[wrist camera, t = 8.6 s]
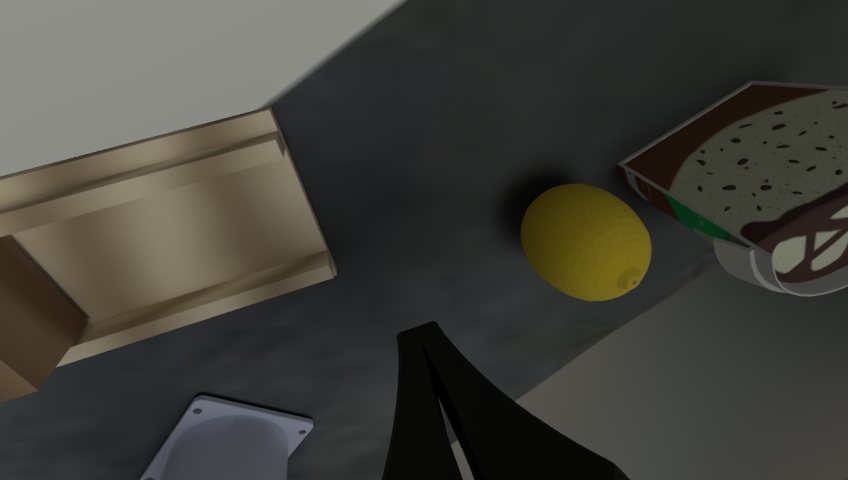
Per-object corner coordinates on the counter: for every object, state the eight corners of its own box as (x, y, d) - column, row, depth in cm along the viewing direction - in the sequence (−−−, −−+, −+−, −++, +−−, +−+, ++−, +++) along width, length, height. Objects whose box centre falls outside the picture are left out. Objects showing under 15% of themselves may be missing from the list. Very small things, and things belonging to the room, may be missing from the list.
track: (270, 106, 16) (258, 134, 12) (336, 267, 21) (343, 326, 17) (-210, 231, 14) (-426, 317, 10) (-15, 379, 19) (-106, 479, 15)
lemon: (590, 213, 24) (697, 284, 18) (519, 261, 25) (597, 349, 18) (563, 145, 21) (680, 201, 15) (482, 202, 22) (561, 281, 15)
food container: (614, 245, 26) (756, 348, 18) (595, 176, 23) (759, 263, 15) (768, 151, 26) (989, 211, 18) (772, 66, 23) (1048, 91, 14)
